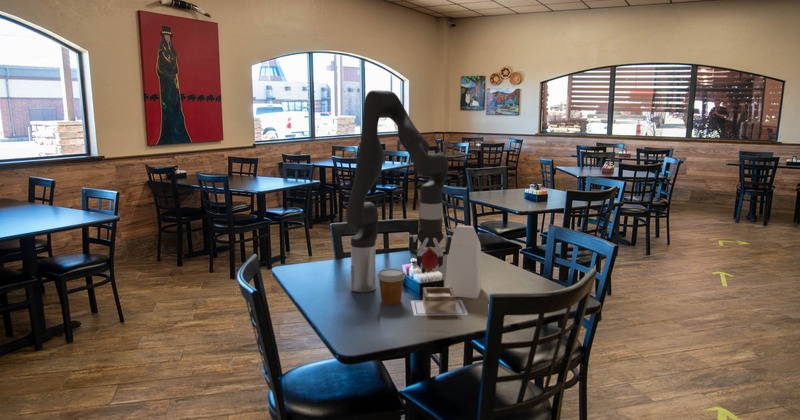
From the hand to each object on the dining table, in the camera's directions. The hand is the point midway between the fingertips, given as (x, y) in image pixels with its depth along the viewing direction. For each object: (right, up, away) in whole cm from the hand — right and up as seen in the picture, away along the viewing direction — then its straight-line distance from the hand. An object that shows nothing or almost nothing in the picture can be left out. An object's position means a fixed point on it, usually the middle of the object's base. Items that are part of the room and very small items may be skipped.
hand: (429, 266), depth 180 cm
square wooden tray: (+4, -15, +8) cm, 17 cm away
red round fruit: (0, -2, 0) cm, 2 cm away
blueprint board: (+4, -16, +8) cm, 18 cm away
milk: (+14, -13, +24) cm, 31 cm away
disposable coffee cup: (-13, -15, +13) cm, 24 cm away
